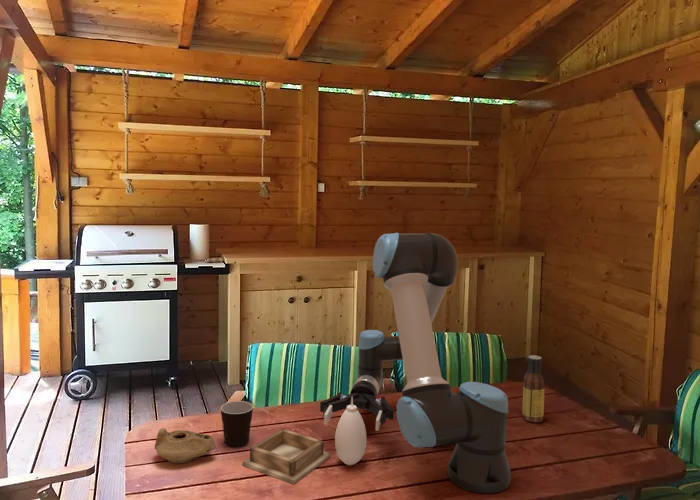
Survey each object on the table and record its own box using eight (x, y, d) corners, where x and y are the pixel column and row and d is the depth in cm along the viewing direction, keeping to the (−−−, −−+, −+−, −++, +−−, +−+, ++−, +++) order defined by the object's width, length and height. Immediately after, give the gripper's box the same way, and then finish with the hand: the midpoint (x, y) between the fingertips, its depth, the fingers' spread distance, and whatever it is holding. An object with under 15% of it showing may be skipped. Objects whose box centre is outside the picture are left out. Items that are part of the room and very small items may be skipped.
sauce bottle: (545, 418, 178) (550, 356, 176) (540, 425, 173) (545, 362, 170) (524, 413, 182) (528, 352, 179) (518, 419, 177) (523, 357, 174)
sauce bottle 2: (328, 461, 147) (330, 395, 145) (351, 453, 152) (353, 388, 150) (348, 474, 141) (350, 405, 139) (371, 464, 147) (374, 397, 144)
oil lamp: (216, 465, 144) (216, 435, 143) (153, 472, 140) (153, 441, 139) (214, 445, 154) (214, 417, 153) (155, 451, 150) (155, 422, 149)
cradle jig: (330, 456, 150) (330, 440, 149) (293, 484, 136) (294, 466, 136) (281, 440, 158) (281, 425, 157) (242, 465, 144) (242, 448, 144)
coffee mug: (245, 451, 151) (245, 415, 150) (215, 447, 153) (215, 411, 152) (261, 432, 163) (261, 398, 161) (232, 428, 164) (232, 395, 163)
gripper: (406, 409, 167) (398, 442, 146) (322, 400, 171) (304, 430, 151) (407, 384, 166) (399, 414, 145) (323, 376, 170) (304, 403, 150)
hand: (351, 422), depth 148 cm, fingers open, 13 cm apart
